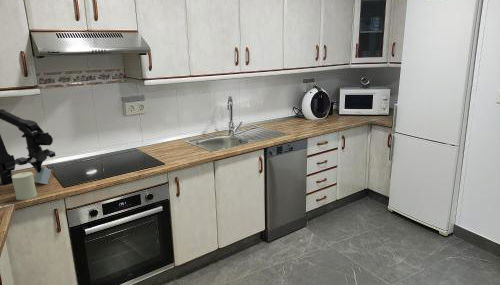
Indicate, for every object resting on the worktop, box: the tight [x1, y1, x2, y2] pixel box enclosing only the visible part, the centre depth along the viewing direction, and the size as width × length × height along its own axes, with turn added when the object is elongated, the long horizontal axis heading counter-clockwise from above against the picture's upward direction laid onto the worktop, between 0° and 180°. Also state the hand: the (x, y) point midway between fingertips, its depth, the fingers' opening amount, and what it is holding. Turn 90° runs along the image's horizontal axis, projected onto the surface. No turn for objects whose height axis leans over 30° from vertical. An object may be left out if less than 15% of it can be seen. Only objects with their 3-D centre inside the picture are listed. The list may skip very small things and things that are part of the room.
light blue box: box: [33, 166, 52, 185], centre depth 199 cm, size 7×4×8 cm, turn 57°
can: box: [12, 171, 38, 201], centre depth 181 cm, size 9×9×12 cm
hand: (38, 172), depth 198 cm, fingers closed
